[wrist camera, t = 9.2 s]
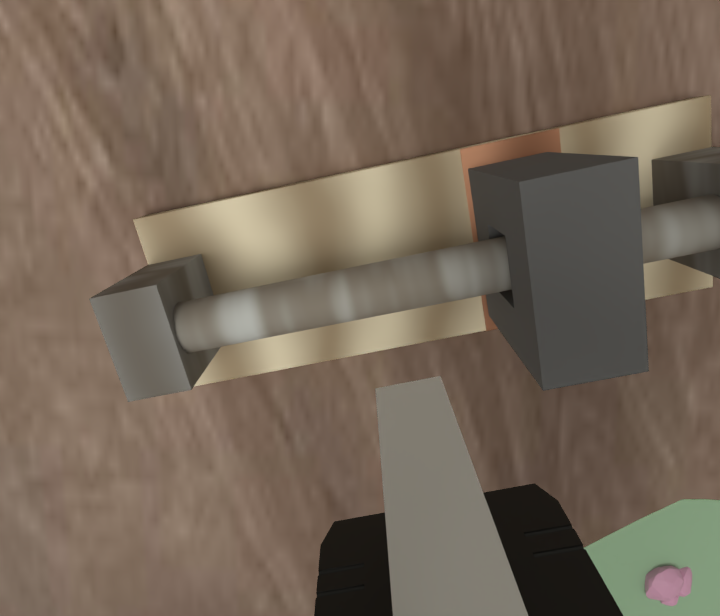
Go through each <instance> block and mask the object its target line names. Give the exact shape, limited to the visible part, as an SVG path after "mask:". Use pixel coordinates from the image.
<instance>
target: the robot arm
mask: <svg viewBox="0 0 720 616" xmlns="http://www.w3.org/2000/svg"><path fill="white" fill-rule="evenodd" d="M375 389H376V402H377V415H378V428H379V441H380V454H381V467H382V481H383V494H384V507H385V513H380V514H374V515H369V516H363V517H358V518H352V519H347V520H341V521H335V522H334V523H333V525H332V527H331V528H330V530H329V532H328V533H327V535H326V537H325V539H324V540H323V542H322V544H321V548H320V559H319V570H318V571H319V576H318V581H317V592H316V593H317V598H316V603H315V614H314V616H623V614H622V612H621V611H620V609H619V607H618V605H617V604H616V602H615V600H614V598H613V596H612V595H611V593H610V591H609V589H608V588H607V586H606V584H605V582H604V581H603V579H602V577H601V575H600V574H599V572H598V570H597V568H596V567H595V565H594V563H593V561H592V560H591V558H590V556H589V554H588V553H587V551H586V549H584V548H583V544H582V542H581V540H580V539H579V537H578V535H577V533H576V532H575V530H574V529H572V526H571V523H570V521H569V519H568V518H567V516H566V514H565V512H564V511H563V509H562V507H561V505H560V504H559V502H558V501H557V500H556V499H555V498H553V497H552V496H551V495H549V494H548V493H547V492H545V491H544V490H543V489H541V488H540V487H539V486H537V485H536V484H530V485H524V486H518V487H513V488H507V489H502V490H496V491H491V492H485V493H483V491H482V488H481V485H480V483H479V480H478V477H477V474H476V472H475V469H474V466H473V464H472V461H471V458H470V455H469V453H468V450H467V447H466V444H465V442H464V439H463V436H462V434H461V431H460V428H459V425H458V423H457V420H456V417H455V415H454V412H453V409H452V406H451V404H450V401H449V398H448V395H447V393H446V390H445V387H444V385H443V382H442V379H441V376H438V377H432V378H427V379H422V380H417V381H412V382H407V383H401V384H396V385H391V386H386V387H381V388H375Z"/></svg>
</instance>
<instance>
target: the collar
mask: <svg viewBox="0 0 720 616" xmlns="http://www.w3.org/2000/svg"><path fill="white" fill-rule="evenodd" d="M468 174H469V180H470V187H471V194H472V201H473V208H474V215H475V222H476V229H477V236H478V241H483V240H488V239H493V238H498V237H503V236H505V239H506V246H507V254H508V262H509V270H510V278H511V286H512V290H507V291H502V292H497V293H492V294H487V295H486V299H487V306H488V313H489V316H490V318H491V319H492V321H493V322H494V323H495V325H496V326H497V327H498V329H499V330H500V332H501V333H502V334H503V336H504V337H505V339H506V340H507V341H508V343H509V344H510V345H511V347H512V348H513V350H514V351H515V352H516V354H517V355H518V356H519V358H520V359H521V361H522V362H523V363H524V365H525V366H526V368H527V369H528V370H529V372H530V373H531V374H532V376H533V377H534V379H535V380H536V381H537V383H538V384H539V385H540V387H541V388H542V390H543V391H544V390H549V389H555V388H560V387H565V386H571V385H576V384H582V383H587V382H593V381H598V380H604V379H609V378H615V377H620V376H626V375H631V374H637V373H642V372H648V371H649V368H648V348H647V327H646V307H645V287H644V266H643V246H642V225H641V205H640V185H639V164H638V157H629V156H611V155H593V154H575V153H557V152H544V153H540V154H535V155H530V156H526V157H521V158H516V159H512V160H507V161H502V162H497V163H493V164H488V165H483V166H479V167H474V168H469V169H468Z"/></svg>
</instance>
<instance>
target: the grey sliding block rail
mask: <svg viewBox="0 0 720 616" xmlns="http://www.w3.org/2000/svg"><path fill="white" fill-rule="evenodd" d="M544 152H557V153H575V154H593V155H611V156H629V157H638V164H639V185H640V205H641V225H642V246H643V266H644V287H645V300H647V299H652V298H658V297H663V296H668V295H673V294H678V293H684V292H689V291H694V290H699V289H704V288H710V287H713V276H714V277H717V278H719V279H720V147H712V145H711V95H709V96H701V97H694V98H689V99H684V100H679V101H675V102H670V103H666V104H661V105H656V106H652V107H647V108H642V109H638V110H633V111H628V112H624V113H619V114H615V115H610V116H605V117H601V118H596V119H591V120H587V121H582V122H577V123H573V124H568V125H564V126H559V127H554V128H550V129H545V130H540V131H536V132H531V133H527V134H522V135H517V136H513V137H508V138H503V139H499V140H494V141H489V142H485V143H480V144H476V145H471V146H466V147H462V148H457V149H452V150H448V151H443V152H438V153H434V154H429V155H425V156H420V157H415V158H411V159H406V160H401V161H397V162H392V163H387V164H383V165H378V166H374V167H369V168H364V169H360V170H355V171H350V172H346V173H341V174H337V175H332V176H327V177H323V178H318V179H313V180H309V181H304V182H299V183H295V184H290V185H286V186H281V187H276V188H272V189H267V190H262V191H258V192H253V193H248V194H244V195H239V196H235V197H230V198H225V199H221V200H216V201H211V202H207V203H202V204H197V205H193V206H188V207H184V208H179V209H174V210H170V211H165V212H160V213H156V214H151V215H147V216H143V217H140V218H137V219H134V220H133V221H134V224H135V227H136V230H137V233H138V236H139V239H140V242H141V245H142V248H143V251H144V254H145V257H146V259H147V262H148V265H147V266H145V267H144V268H142V269H140V270H138V271H137V272H135V273H133V274H131V275H130V276H128V277H126V278H124V279H123V280H121V281H119V282H117V283H116V284H114V285H112V286H111V287H109V288H107V289H105V290H104V291H102V292H100V293H98V294H97V295H95V296H93V297H91V298H90V299H89V300H90V302H91V305H92V307H93V310H94V313H95V315H96V318H97V321H98V323H99V326H100V329H101V331H102V334H103V337H104V339H105V342H106V344H107V347H108V350H109V352H110V355H111V358H112V360H113V363H114V366H115V368H116V371H117V373H118V376H119V379H120V381H121V384H122V387H123V389H124V392H125V395H126V397H127V400H128V402H130V401H135V400H140V399H146V398H151V397H156V396H161V395H167V394H172V393H177V392H182V391H187V390H191V389H192V388H193V387H194V386H199V385H204V384H209V383H214V382H220V381H225V380H230V379H235V378H240V377H246V376H251V375H256V374H261V373H266V372H272V371H277V370H282V369H287V368H293V367H298V366H303V365H308V364H313V363H319V362H324V361H329V360H334V359H339V358H345V357H350V356H355V355H360V354H366V353H371V352H376V351H381V350H386V349H392V348H397V347H402V346H407V345H412V344H418V343H423V342H428V341H433V340H439V339H444V338H449V337H454V336H459V335H465V334H470V333H475V332H480V331H485V330H486V331H489V330H494V329H498V327H497V326H496V325H495V323H494V322H493V321H492V319H491V318H490V316H489V313H488V306H487V299H486V295H487V294H492V293H497V292H502V291H507V290H512V286H511V278H510V270H509V262H508V254H507V246H506V239H505V236H503V237H498V238H493V239H488V240H483V241H478V236H477V229H476V222H475V215H474V208H473V201H472V194H471V187H470V180H469V174H468V169H469V168H474V167H479V166H483V165H488V164H493V163H497V162H502V161H507V160H512V159H516V158H521V157H526V156H530V155H535V154H540V153H544Z"/></svg>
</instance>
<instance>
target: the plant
mask: <svg viewBox="0 0 720 616" xmlns="http://www.w3.org/2000/svg"><path fill="white" fill-rule="evenodd" d="M584 549H586V551H587V553H588V554H589V556H590V558H591V560H592V561H593V563H594V565H595V567H596V568H597V570H598V572H599V574H600V575H601V577H602V579H603V581H604V582H605V584H606V586H607V588H608V589H609V591H610V593H611V595H612V596H613V598H614V600H615V602H616V604H617V605H618V607H619V609H620V611H621V612H622V614H623V616H720V500H709V499H683V500H680V501H678V502H676V503H674V504H672V505H669V506H667V507H665V508H663V509H661V510H659V511H656V512H654V513H652V514H650V515H648V516H646V517H643V518H641V519H639V520H637V521H635V522H633V523H631V524H629V525H628V526H626V527H624V528H622V529H620V530H618V531H616V532H614V533H612V534H610V535H608V536H606V537H604V538H602V539H600V540H598V541H596V542H594V543H592V544H590V545H588V546H587V547H585V548H584Z"/></svg>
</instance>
